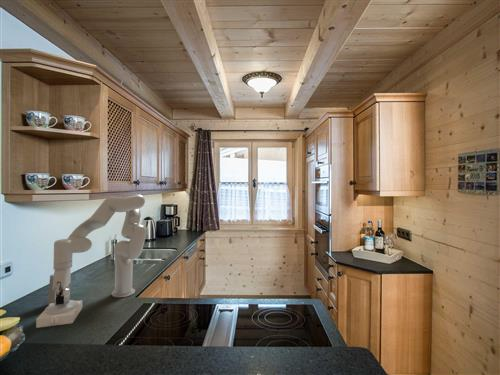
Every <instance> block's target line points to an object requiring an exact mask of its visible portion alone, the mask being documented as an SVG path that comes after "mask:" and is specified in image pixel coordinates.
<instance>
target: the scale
mask: <svg viewBox="0 0 500 375" xmlns="http://www.w3.org/2000/svg"><path fill="white" fill-rule="evenodd" d="M82 309H83V300H81V299H80V300H74V299H70V302H69V303H68V304H66V305H62V306H55V303H52V304H50V305H48V306H46V307H45V308H44V310H43V311H42V312H41V313H40V314H39V315H38V317H36V319H35V321H36V322H35V325H36V326H35V328H45V327H46V328H47V327H55V326H62V325H67V324H68V325H69V324H73V323H74V322H75V320H76V319H77V317H78V315H79V314H80V312H81V311H82Z"/></svg>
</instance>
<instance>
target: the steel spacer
mask: <svg viewBox="0 0 500 375" xmlns="http://www.w3.org/2000/svg"><path fill="white" fill-rule="evenodd" d="M60 289H62V288H60ZM55 291H56V290H55ZM60 292H61V293H62V291H60ZM63 295H64V304H59V305H56V293H55V306H62V305H66V304H68V303H69V302H70V300H71V297H70V296H71V286H70V287H66V288H65V289H64V293H63Z"/></svg>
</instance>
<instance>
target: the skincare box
mask: <svg viewBox="0 0 500 375" xmlns="http://www.w3.org/2000/svg"><path fill="white" fill-rule="evenodd" d="M53 277H54V273H53V274H50V276H49V283H48V285H49V286H48V294H47V302H46V303H47V305H48V306H49V305H50V304H52V303H55V291H53ZM71 282H72V280H71V281H70V284H69V287H70V288H71V284H72V283H71Z"/></svg>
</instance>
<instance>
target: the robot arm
mask: <svg viewBox="0 0 500 375" xmlns="http://www.w3.org/2000/svg"><path fill="white" fill-rule="evenodd" d="M145 203H146V200H145V197H144V196H143V195H141V194H139V193H135V194H134V193H125V194H122V195H121V196H120V197H119V196H108V197H107V198H105V199H104V200H103V201H102V202H101V204H100V205H99V207H97V209H96V210H95V211H94V213H93V214H91V216H90V217H89V218H88V219H86V220H84V221H83V222H81V224H79V225H78V226H77V227H76V228H74V229H73V231H72V232H71V234H69V236H68V237H67V238H63V239H62V238H61V239H58V240H55V241H54V243H53V270H54V271H53V272H54V273H53V274H54V277H53V291H55V290H56V291H55V293H56V305H59V304H64V295H63V293H64V289H65V288H66V287H69V284H70V281H71V282H72V273H71V268H72V267H73V254H77V253H78V254H80V253H85V252H88V251H89V250H90V249H91V248H92V246H93V242H92V241H91V240H90V238H87V237H88V235H89V234H91V233H92V232H94V231H96V230H98V229H101V228H103V227H105V226H107V223H108V222H109V221H110V220H111V218H113V216H114V214H116V213H125V218H124V221H123V224H122V228H121V232H120V233H121V234H120V235H121V236H122V237H123V238H125V239H127V240H120V241H118V242H116V243H115V245H114V248H113V254H114V256H113V257H114V264H115V267H114V269H115V270H114V290H113V291H112V292H111V296H112V297H113V298H126V297H130V296H132V295H134V294H135V292H136V289H135V288H133V273H134V272H133V270H134V268H133V266H134V265H133V262H134V261H133V260H136V259H138V258H139V257H140V256H141V254H142V252H143V249H144V245H145V241H146V238H147V228H146V227H145V226H144V225H143V224H141V223H140V221H141V216H142V214H141V213H142V212H141V209H142V208H143V207H144V206H145ZM60 288H62V289H60ZM60 291H62V293H61V292H60Z"/></svg>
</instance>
